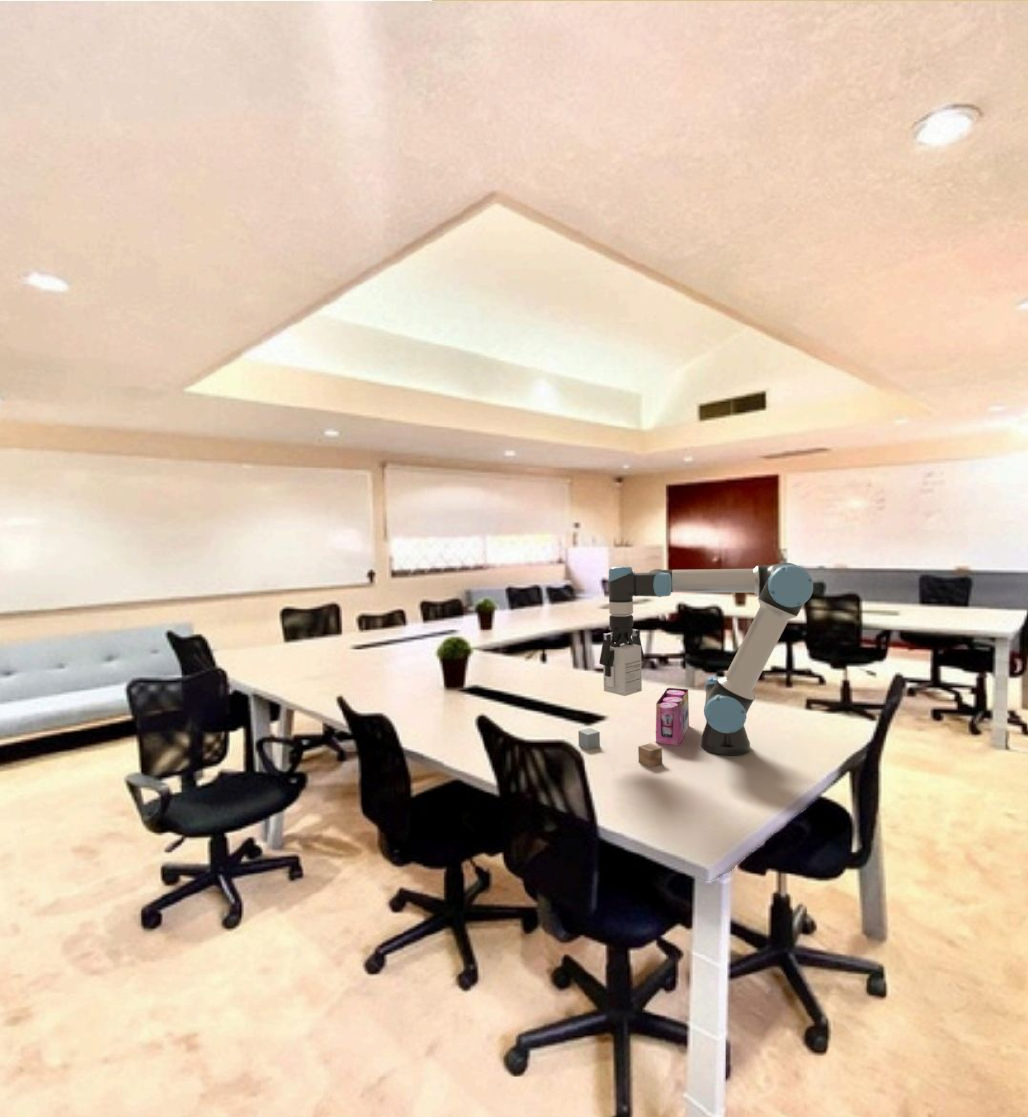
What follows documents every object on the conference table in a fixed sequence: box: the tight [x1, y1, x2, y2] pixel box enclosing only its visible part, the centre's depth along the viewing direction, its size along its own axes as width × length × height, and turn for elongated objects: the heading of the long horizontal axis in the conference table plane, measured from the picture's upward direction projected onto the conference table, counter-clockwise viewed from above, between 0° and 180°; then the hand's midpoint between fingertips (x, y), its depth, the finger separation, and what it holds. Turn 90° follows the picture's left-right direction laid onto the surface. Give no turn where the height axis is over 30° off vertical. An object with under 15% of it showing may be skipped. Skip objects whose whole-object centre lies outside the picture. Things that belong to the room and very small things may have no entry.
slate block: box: [578, 727, 601, 751], centre depth 201 cm, size 5×5×5 cm
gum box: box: [655, 687, 690, 746], centre depth 209 cm, size 24×8×14 cm, turn 156°
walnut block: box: [637, 742, 663, 768], centre depth 185 cm, size 5×5×5 cm
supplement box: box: [602, 643, 643, 697], centre depth 192 cm, size 9×9×15 cm
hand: (622, 683), depth 193 cm, fingers closed on supplement box, 9 cm apart
